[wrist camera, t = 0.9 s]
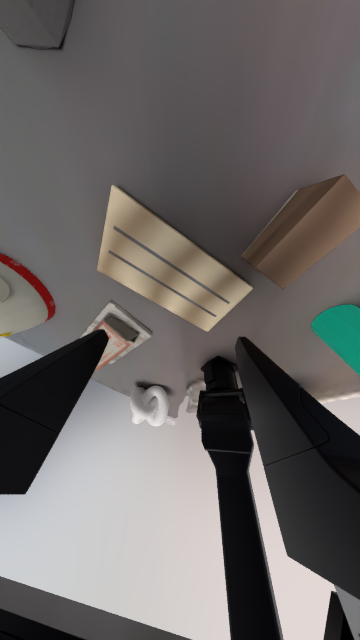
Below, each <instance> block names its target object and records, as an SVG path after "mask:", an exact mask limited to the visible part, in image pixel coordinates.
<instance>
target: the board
mask: <svg viewBox="0 0 360 640" xmlns="http://www.w3.org/2000/svg"><path fill="white" fill-rule="evenodd" d="M97 270H98V271H100V272H102V273H104V274H105V275H107V276H109V277H111V278H113V279H114V280H116V281H118V282H120V283H121V284H123V285H125V286H127V287H128V288H130V289H132V290H134V291H136V292H137V293H139V294H141V295H143V296H144V297H146V298H148V299H150V300H152V301H153V302H155V303H157V304H159V305H160V306H162V307H164V308H166V309H168V310H169V311H171V312H173V313H175V314H176V315H178V316H180V317H182V318H183V319H185V320H187V321H189V322H191V323H192V324H194V325H196V326H198V327H199V328H201V329H203V330H205V331H207V332H208V331H209V330H210V329H211V328H212V327H213V326H214V325H215V324H216V323H217V322H218V321H219V320H221V319H222V318H223V317H224V316H225V315H226V314H227V313H228V312H229V311H230V310H231V309H232V308H233V307H234V306H235V305H236V304H237V303H239V302H240V301H241V300H242V299H243V298H244V297H245V296H246V295H247V294H248V293H249V292H250V291H251V290H252V289H253V288H252V286H251V285H250V284H248V283H247V282H246V281H244V280H243V279H241V278H240V277H239V276H237V275H236V274H235V273H233V272H232V271H231V270H229V269H228V268H227V267H225V266H224V265H222V264H221V263H220V262H218V261H217V260H216V259H214V258H213V257H212V256H210V255H209V254H208V253H206V252H205V251H203V250H202V249H201V248H199V247H198V246H197V245H195V244H194V243H193V242H191V241H190V240H189V239H187V238H186V237H185V236H183V235H182V234H180V233H179V232H178V231H176V230H175V229H174V228H172V227H171V226H170V225H168V224H167V223H166V222H164V221H163V220H161V219H160V218H159V217H157V216H156V215H155V214H153V213H152V212H151V211H149V210H148V209H147V208H145V207H144V206H142V205H141V204H140V203H138V202H137V201H136V200H134V199H133V198H132V197H130V196H129V195H128V194H126V193H125V192H123V191H122V190H121V189H119V188H118V187H116V186H114V185H112V187H111V193H110V199H109V204H108V210H107V216H106V222H105V227H104V233H103V239H102V244H101V250H100V256H99V262H98V267H97Z"/></svg>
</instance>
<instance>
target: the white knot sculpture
mask: <svg viewBox="0 0 360 640" xmlns="http://www.w3.org/2000/svg"><path fill="white" fill-rule="evenodd" d="M130 407H131V410H132V412H133V414H132V421H133V423H134V424H139V423H141V422H142V421H143V420H145V419H147V421H148V422H149V424H151V425H152V426H155V427H156V426H159V425H161V424H162V423H163V422H164V421H165V419H166V417H167V414H168V409H169V402H168V396H167V394H166V392H165V390H164V389H163V388H162V387H160V386H152V387H150V388H148V389H147V390H145V389H144V388H143V387H137V388H135V389H134V390H133V391H132V393H131V395H130ZM157 409H158V412H157V414H156V411H157Z"/></svg>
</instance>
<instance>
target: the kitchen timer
mask: <svg viewBox="0 0 360 640" xmlns="http://www.w3.org/2000/svg"><path fill="white" fill-rule="evenodd" d="M54 314H55V304H54V301H53V298H52V296H51V295H50V293H49V292H48V290H47V288H46V287H45V286H44V285H43V284H42V283H41V282H40V281H39V279H38V278H37V277H36V276H34V275H33V274H32V273H31V272H30V271H29V270H27V269H26V268H25V267H24V266H22V265H20V264H19V263H17V262H16V261H14V260H13V259H11V258H9V257H7V256H5V255H3V254H0V337H4V336H10V335H11V334H15V333H18V332H21V331H24V330H27V329H30V328H32V327H35V326H37V325H39V324H42V323H44V322H45V321H47V320H49V319H50V318H52V317H53V315H54Z"/></svg>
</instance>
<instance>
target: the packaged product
mask: <svg viewBox="0 0 360 640" xmlns="http://www.w3.org/2000/svg"><path fill="white" fill-rule="evenodd" d="M97 329H104V330H105V331H106V333H107V335H108V337H109V341H108V344H107V346H106V348H105V351H104V353H103V355H102V358H101V360H100V362H99V364H98V365H97V367H96V369H95V370H99V369H100V368H102V367H104V366H105V365H106V364H109V365H111V364H112V363H114V362H115V361H117V360H118V359H120V358H121V357H122V356H124V355H126V354H127V353H128V352H130V351H131V350H133V349H134V348H135V347H137V346H139V345H140V344H141V343H143V342H144V341H146V340H147V339H148V338H150V337H151V336H152V332H151V331H150V330H149V329H147V328H146V327H145V326H144V325H142V324H141V323H140V322H139V321H137V320H136V319H135V318H134V317H133V316H131V315H130V314H129V313H127V312H126V311H125V310H124V309H122V308H121V307H120V306H119V305H117V304H116V303H114V302H113V301H111V302H109V304H108V305H107V306H106V307H105V308H104V309H103V311H102V312H101V313H100V314H99V315H98V317H97V318H96V319H95V320H94V321H93V323H92V324H91V325H90V326H89V327H88V329H87V330H86V331H85V332H84V333H83V335H82V336H81V337H83V336H85V335H87V334H89V333H91V332H93V331H95V330H97ZM81 337H80V338H81Z"/></svg>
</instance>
